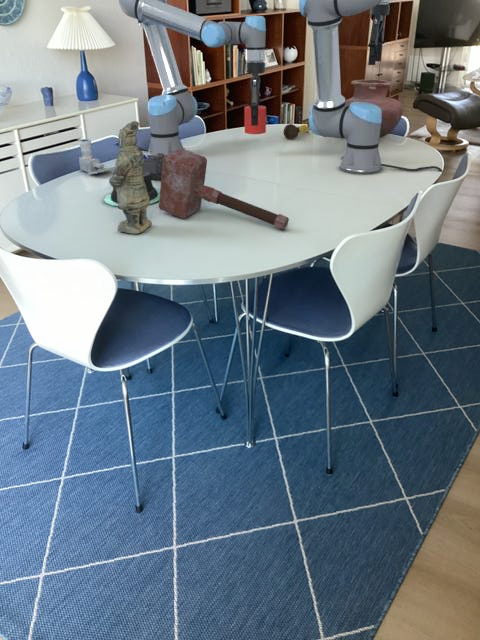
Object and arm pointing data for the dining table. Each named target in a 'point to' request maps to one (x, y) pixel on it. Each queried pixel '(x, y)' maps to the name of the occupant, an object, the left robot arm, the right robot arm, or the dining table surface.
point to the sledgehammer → (200, 190)
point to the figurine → (295, 130)
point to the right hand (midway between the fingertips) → (374, 63)
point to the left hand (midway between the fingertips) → (255, 122)
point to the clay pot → (378, 102)
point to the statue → (131, 182)
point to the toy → (154, 165)
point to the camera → (90, 159)
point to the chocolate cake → (152, 192)
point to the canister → (261, 121)
